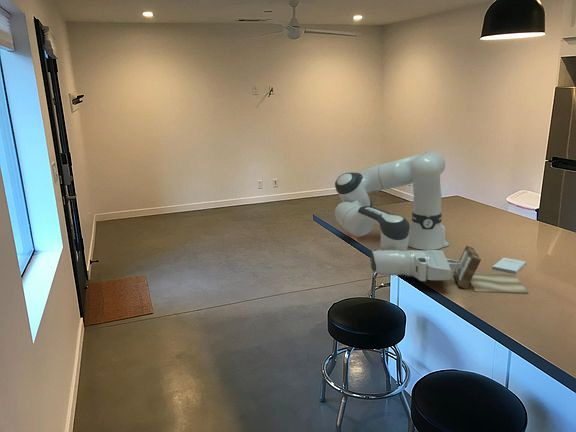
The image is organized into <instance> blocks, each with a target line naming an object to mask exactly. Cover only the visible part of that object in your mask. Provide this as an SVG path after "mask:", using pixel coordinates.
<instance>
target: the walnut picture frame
mask: <svg viewBox="0 0 576 432" xmlns="http://www.w3.org/2000/svg"><path fill="white" fill-rule="evenodd" d="M458 261H461V263H462V268H461V269H460V268H456V269H453V273H452V274H453V277H454V279H455V281H456V283H457V285H458V287H460V288H463V290H464V289H465V290H468V287H469V285H470V284H471V283H470V281H471V279H472V277H473V275H474V273H476V271H477V269H478V268H479V267H478V266H479V265H480V263H481V261H482V260H481V258H480V256H479V255H478V253H477V251H476V250H475V248H474V247H472V246H469V245H466V246H465V248H464V249H463V252H462V254H461V256H460V258H459V260H458Z"/></svg>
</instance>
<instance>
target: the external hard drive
mask: <svg viewBox="0 0 576 432" xmlns="http://www.w3.org/2000/svg"><path fill="white" fill-rule="evenodd" d="M526 265H527V261H524V260H520V259H514V258H508V257H502V258H501V259H500V260H499V261H498V262H495V264H494V265H493V266H491V269H492V270H494V271H498V272H503V273H507V274H514V275H517V274H518V273H519V272H520V271H521V270H522V269H523V268H524V267H525V266H526Z"/></svg>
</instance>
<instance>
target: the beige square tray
mask: <svg viewBox="0 0 576 432" xmlns="http://www.w3.org/2000/svg"><path fill="white" fill-rule="evenodd" d="M469 284H470V285H471V287H472V289H473V291H474V293H475V292H476V293H496V294H497V293H498V294H499V293H500V294H501V293H502V294H525V295H528V294H529V291H528V290H527V289H526V288H525V287H524V285H523V284H522V283H521V281H520V280H519V278H518V277H517V276H516V274H513V273H497V272H496V273H494V272H492V273H491V272H490V273H489V272H488V273H487V272H475V273H474V275H473V277H472V279H471V281H470V283H469Z"/></svg>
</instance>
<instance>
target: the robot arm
mask: <svg viewBox="0 0 576 432" xmlns="http://www.w3.org/2000/svg"><path fill="white" fill-rule="evenodd" d="M445 169H446V160H445V158H444V156H443V155H442V154H441V153H439V152H437V151H426V152H423V153H419V154H415V155H411V156H408V157H405V158H402V159H401V158H400V159H397V160H392V161H389V162H384V163H380V164H377V165H373V166H371V167H369V168H365V169H364V170H362V171H361V172H345V173H343V174H340V176H338V177H337V178H336V180H335V182H334V186H335V187H334V188H335V191H336V192H337V194H338V196H339V198H340V200H341V202H340V203H338V204H337V206H336V207H335V209H334V216H335V217H334V218H335V219H336V221H337V222H338V223H339V224H340V225H341V227H343V229H345V230H346V231H347V232H348V233H349V234H350V235H353V236H355V237H364V236H365V235H368V234H369V233H370V232H371V231H372V230H373V229H374V227H375V225H376V224H377V225H378V227H379V230H380V231H379V232H380V236H379V237H380V239H379V240H380V244H379V247H378V249H377V250H374V251H371V253H370V257H369V258H370V267H371V270H372V272H373V273H374V274H378V275H384V276H395V277H396V276H402V275H405V276H408V277H414V278H416V279H417V280H419V281H420V282H427V280H429V281H447V280H448V281H449V280H450V279H452V270H453V271H454V270H455V269H456V268H460V269H461V268H462V263H461V261H459V260H457V259H456V260H455V259H451V258H447V257H446V255H445V252H444V251H443V250H440V249H443V248H444V247H448V246H449V245H450V243H449V242H448V241H447V240H446V238H445V237H446V229H445V226H444V224H443V223H442V220H443V219H442V218H443V215H442V197H443V196H442V195H443V194H442V191H441V189H442V188H441V175H442V174H443V172H444V171H445ZM407 185H412V189H413V204H412V207H413V208H412V210H413V211H412V212H411V222H409V221H408V220H407V219H406V218H405V217H404V216H402V215H399V214H393V213H390V212H387V211H385V210H383V209H380V208H378V207H374V206H373V202H372V199H371V198H370V196H369V194H370V193H371V192H378V191H379V192H380V191H385V190H390V189H395V188H400V187H404V186H407ZM408 247H411V248H412V249H411V250H410V249H409V250H408Z"/></svg>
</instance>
